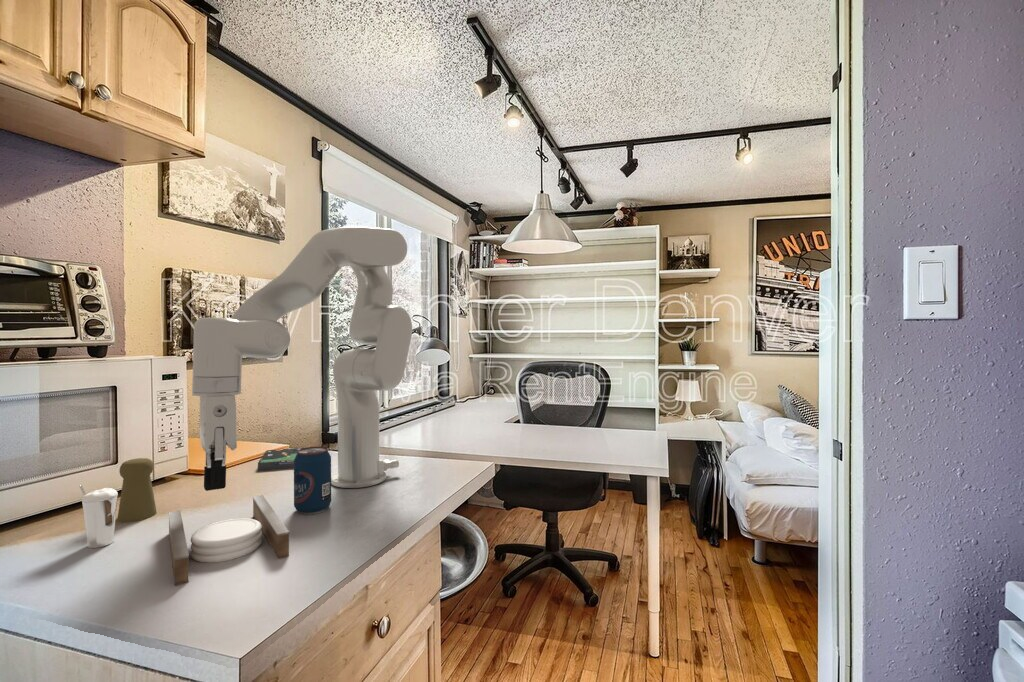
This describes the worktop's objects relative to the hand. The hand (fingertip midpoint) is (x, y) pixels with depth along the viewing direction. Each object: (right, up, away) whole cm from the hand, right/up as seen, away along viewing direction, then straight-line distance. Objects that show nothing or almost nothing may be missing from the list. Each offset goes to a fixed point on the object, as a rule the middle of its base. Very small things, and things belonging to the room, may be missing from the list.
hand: (214, 488), depth 86 cm
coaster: (+7, -8, -8) cm, 13 cm away
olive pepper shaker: (-19, -8, +7) cm, 22 cm away
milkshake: (-16, -8, -6) cm, 19 cm away
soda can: (+13, -8, +10) cm, 18 cm away
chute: (+6, -8, -6) cm, 11 cm away
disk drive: (-10, -8, +46) cm, 47 cm away
